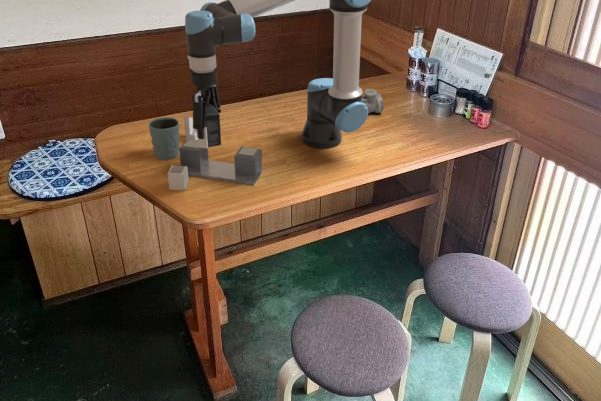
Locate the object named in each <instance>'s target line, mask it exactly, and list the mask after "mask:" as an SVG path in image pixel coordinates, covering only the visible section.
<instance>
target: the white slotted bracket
mask: <svg viewBox="0 0 601 401" xmlns="http://www.w3.org/2000/svg"><path fill="white" fill-rule="evenodd" d="M183 122H184V134H185V141H186V140H187V139H193V140H198V138H197V130H196V129H193V117H189V116H185V115H184V116H183Z"/></svg>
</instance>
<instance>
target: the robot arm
mask: <svg viewBox="0 0 601 401" xmlns="http://www.w3.org/2000/svg"><path fill="white" fill-rule="evenodd" d="M295 1H296V0H223V1H221V2H218V3H217V2H211V1H210V2H206V3H204V4H203V5H202V6H201V7H200V10H192V11H189V12H188V13H186V14H185V17H184V27H185V30H184V31H185V36H186V44H187V46H186V47H187V54H188V55H187V59H188V63H189V69H190V70H189V75H190V76H189V78H190V83H191V84H193V85H194V86H195V87H196V91H195V94H192V95H191V98H192V118H193V129H197V136H198V146H199V147H200V148H208V140H207V129H206V127H205V120H206V110H207V106H208V105H209V104H212V105H213V106H214V107H215V108H216V110H217V111H218V112H219V114H220V113H222V109H221V107H222V106H221V102H220V96H219V91H218V72H217V56H216V47H219V46H225V45H227V46H228V45H233V44H235V45H236V44H240V43H242V44H243V43H247V42H250V41H252V40H254V38H255V36H256V23H255V21H254V18H255V17H258V16H260V15H263V14H265V13H268V12H271V11H273V10H275V9H277V8H281V7H282V6H284V5H287V4H290V3H293V2H295ZM371 1H372V0H329V10H330V11H331V12H332V13H333V56H332V57H333V58H332V59H333V60H332V62H333V63H332V64H333V65H332V68H333V69H332V78H331V77H323V78H322V77H321V78H315V79H313V80H312V79H311V81H309V82H308V86H307V90H306V92H307V94H306V95H307V96H306V97H307V99H306V100H307V102H306V103H307V104H306V106H307V107H306V120H305V123H304V126H303V128H302V131H301V137H300V138H301V141H302V143H304V144H305V145H306V146H308V147H312V148H317V149H330V148H335V147H337V146H339V145H340V144H341V142H342V138H343V136H342V135H343V134H342V132H343V133H348V134H350V133H354V132H356V131H358V130H359V129H360V128H362V126H363V125H365V123H366V121H367V120H368V117H369V113H368V108H367V106H366V105H365V104H364V103H363V102H362V97H364V96H363V94H364V92H363V89H362V88H361V87H360V85H359V84H360V67H361V66H360V64H361V60H360V59H361V42H362V40H361V39H362V20H363V14H364V13H365V12H366V11H367V10H368V4H370V2H371Z"/></svg>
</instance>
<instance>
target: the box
mask: <svg viewBox="0 0 601 401" xmlns="http://www.w3.org/2000/svg"><path fill="white" fill-rule="evenodd" d="M205 127H206V129H207V140H208V148H213V147H219V146H221V145H222V137H221V136H222V134H221V118H220V113H219V112H218V111H217V110H216V108H215V107H214V106H213V105H212V104H209V105H208V106H207V110H206V120H205ZM196 130H197V129H196ZM197 138H198V136H197Z"/></svg>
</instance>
